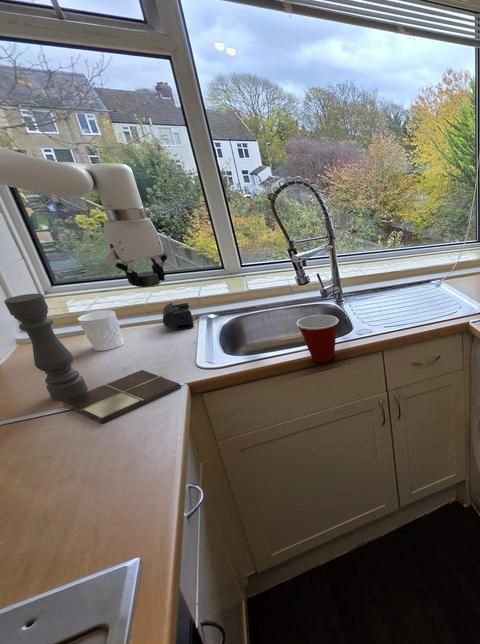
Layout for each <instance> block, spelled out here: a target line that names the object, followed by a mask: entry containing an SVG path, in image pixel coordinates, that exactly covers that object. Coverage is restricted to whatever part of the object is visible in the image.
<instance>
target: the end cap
mask: <svg viewBox="0 0 480 644" xmlns="http://www.w3.org/2000/svg"><path fill="white" fill-rule="evenodd" d="M162 323H163V325H164V326H165V327H166V328H168V329H170V330H174V331H184V330H188V329H194V327H195V324H194V318H193V315H192V312H191V310H190V305H189V303H188V302H185V303H178V304H174V303H173V302H169V303H168V304H166V305H165V306H164V307H163V310H162Z"/></svg>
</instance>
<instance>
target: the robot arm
mask: <svg viewBox="0 0 480 644" xmlns="http://www.w3.org/2000/svg"><path fill="white" fill-rule="evenodd" d="M0 185H3V186H7V187H11V188H15V189H21V190H24V191H25V190H26V191H29V192H35V193H40V194H45V195H50V196H54V197H55V196H56V197H60V198H65V199H82V198H85V197H87V196H88V195H90V194H93V193H97V194H98V197H99V199H100V202H101V205H102V208H103V211H104V213H105V216H106V219H107V221H104V222H103V228H104V236H105V240H106V245H107V248H108V249H107V250H108V254H107V255H106V257H105V259H104V261H103V262H104V263H105V264H106V265H110V266H112V267H115V268H116V269H119V270H121V271H123V272H125V276H126V279H127V281H128V283H129V284H131V286H134V287H138V288H140V287H139V286H141V284H140V281H139V278H138V275H137V273H138V272H137V271H135V270H134V263H135V262H134V261H138V260H143V259H149V260H150V262H151V263H152V265H151V269H152V271H155V272H158V275H159V278H160V281H161V282H164V281H166V278H165V277H166V273H165V271H164V267H163V266H164V265H165V262H166V261H167V259H168V257H169V256H170V255H171V254H172V253H173V251H172V249H170V248H169V247H168V246H166V245H165V244H163V243H162V241H161V238H160V235H159V234H158V231H157V229H156V226H155V225H154V224H153V222H152V220H151V219H150V218H149V217H148V214H151V213H152V211H151V209H150V208H149V207H147V208H146V207H145V206H144V205H143V200H142V198H141V195H140V191H139V189H138V186H137V182H136V178H135V174H134V173H133V170H132V168H131V167H130V166H129V165H127V164H124V163H117V162H116V163H115V162H111V163H110V162H104V163H103V162H101V163H81V162H72V161H56V160H52V159H47V158H44V157H39V156H35V155H31V154H27V153H23V152H19V151H16V150H12V149H9V148H6V147H3V146H0ZM116 260H118V261H119V260H120V261H121V262H118V261H116Z"/></svg>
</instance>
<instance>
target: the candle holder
mask: <svg viewBox="0 0 480 644" xmlns="http://www.w3.org/2000/svg"><path fill="white" fill-rule="evenodd" d="M3 303H4V305H5V306H6V308H7V310H8V312H9V314H10V316H11V317H12V316H13V318H14V319H16V320H18V322H20V324H19V325H18V329H20V330H21V331H24V332H26V334H27V336H28V338H29V340H30V342H31V345H32V354H33V362H34V366H35V368H37V369H38V370H39V371H42V372H44V374H45V375H46V378H45V380H44V382H45V384H46V389H47V391H48V393H49V395H50V397H51V400H52V401H56V402H62V401H65V400H67V399H70V398H72V397H75V396H78V395H80V394H83V393H85V392H88V391H89V388H88V385H87V383H86V381H85V379H84V378H83V376H82V375H80V372H79V371H78V370H76V369H75V368H72V367H73V366H72V364H73V361H74V357H73V354H72V353H71V351H70V350H69V349H68V348H67V347H66V346H65V345H64V344H63V343H62V342H61V340H60V339H58V337H57V336H56V334H55V332H54V330H53V327H52V324H54V320H53V318H49V317H48V313H49V306H48V304H47V302H46V299H45V297H44V295H43V294H42V293H26V294H20V295H15V296H11V297H9V298H6V299H4V300H3Z"/></svg>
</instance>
